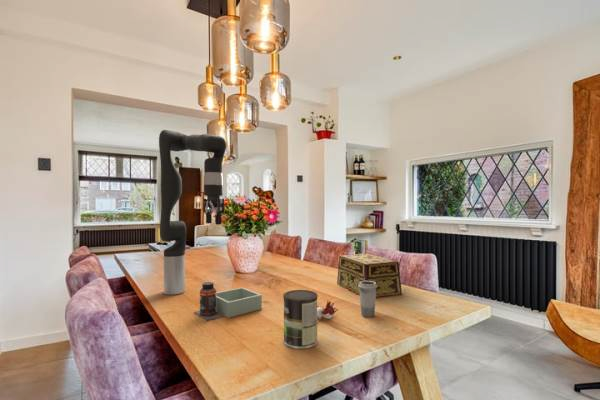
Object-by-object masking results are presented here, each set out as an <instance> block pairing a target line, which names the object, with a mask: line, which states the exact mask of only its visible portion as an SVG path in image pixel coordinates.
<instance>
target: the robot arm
mask: <svg viewBox="0 0 600 400" xmlns="http://www.w3.org/2000/svg"><path fill="white" fill-rule="evenodd" d="M158 147H159V158H160V159H159V160H160V199H161V201H160V204H161V205H160V206H161V207H160V219H159V222H160V223H159V236H160V239H161V241H162V242H174V243H173V244H172V245H171V246H170V247H167V248H165V249H164V250H163V294H164V295H168V296H172V295H180V294H182V293H185V291H186V256H185V255H186V254H185V253H186V248H187V244H186V242H187V226H186V223H185V221H183V220H171V215H172V212H173V210H174V207H175V206H176V204H177V203H178V202H179V200H180V198H181V196H182V194H183V179H182V176H181V174H180V171H178V169H177V167H176V166H175V164H174V162H173V159H172V153H171V152H183V151H189V150H190V151H192V152H193V151H194V152H206V153H213V155H212V157H208V158H205V160H204V162H203V165H204V166H203V167H204V168H203V169H204V175H203V196H205V197H207V198H203V199H202V200H203V201H202V202H203V203H202V205H203V206H202V213H204V214H205V224H212V221H213V220H212V218H213V217H212V213H213V211H214V214H215V215H214V216H215V217H214V221H215V225H218V226H219V225H222V215H223V214H225V213H226V212H225V198H224V197H223V195H224V192H223V191H224V190H223V189H224V185H223V184H224V180H223V178H224V177H223V163H224V162H223V161H224V158H225V155H226V154H225V153H226V152H227V151H226V150H227V142H226V140H225V138H224V137H223V136H219V135H213V134H209V133H202V134H190V135H187V134H184V133H182V132H180V131H179V132H178V131H175V130H168V129H162V130H161V131H160V133H159V136H158ZM221 196H222V197H223V198H222V197H221Z"/></svg>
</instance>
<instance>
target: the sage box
mask: <svg viewBox="0 0 600 400" xmlns="http://www.w3.org/2000/svg"><path fill="white" fill-rule="evenodd" d="M262 296H263V295H262V294H261V293H258V292H255V291H253V290H250V289H248V288H245V287H239V288H238V287H237V288H233V289H228V290H222V291H218V292H216V312H218V313H220V314H222V315H224V317H226V318H228V319H229V318H232V317H237V316H240V315H244V314H248V313H252V312H256V311H259V310H262V309H263V307H262V306H263V305H262V304H263V303H262V302H263V301H262V299H263V298H262Z"/></svg>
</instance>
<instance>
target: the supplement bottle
mask: <svg viewBox="0 0 600 400" xmlns="http://www.w3.org/2000/svg"><path fill="white" fill-rule="evenodd" d="M214 286H215V285H214V282H213V281H206V282H203V283H202V285H201V287H202V288H201V289H200V290H199V311H200V314H201V315H204V316H209V315H213V314H215V313H216V312H217V311H216V293H217V289H216V288H215V287H214Z"/></svg>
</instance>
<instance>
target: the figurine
mask: <svg viewBox="0 0 600 400" xmlns="http://www.w3.org/2000/svg"><path fill="white" fill-rule="evenodd" d="M338 310H339V308H337V307H335V303H334V302H333V303H332V301H329V300H327V303H326V304H325V307H324V308H323V307H321V306H318V305H317V319H321V318H322V317H324V318H325V319H329V320H330V319H332V318H333V317H334V315H335V313H337V312H338Z"/></svg>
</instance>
